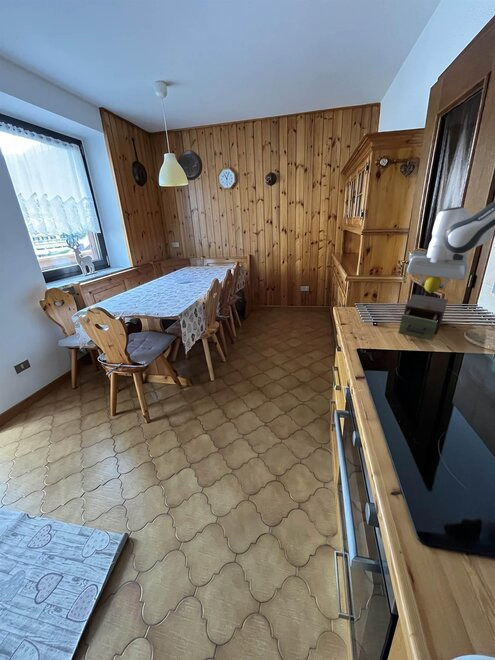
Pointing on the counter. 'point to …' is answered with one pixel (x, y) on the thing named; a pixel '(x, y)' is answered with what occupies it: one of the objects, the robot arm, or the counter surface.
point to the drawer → (419, 324)
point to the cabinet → (428, 306)
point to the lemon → (432, 284)
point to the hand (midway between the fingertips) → (432, 287)
